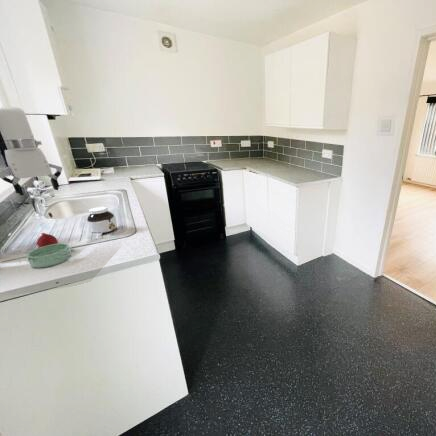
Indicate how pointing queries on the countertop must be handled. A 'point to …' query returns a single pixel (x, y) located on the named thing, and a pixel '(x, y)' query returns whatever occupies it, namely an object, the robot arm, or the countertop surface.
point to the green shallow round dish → (40, 260)
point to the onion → (46, 240)
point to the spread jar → (101, 220)
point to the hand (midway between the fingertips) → (39, 192)
